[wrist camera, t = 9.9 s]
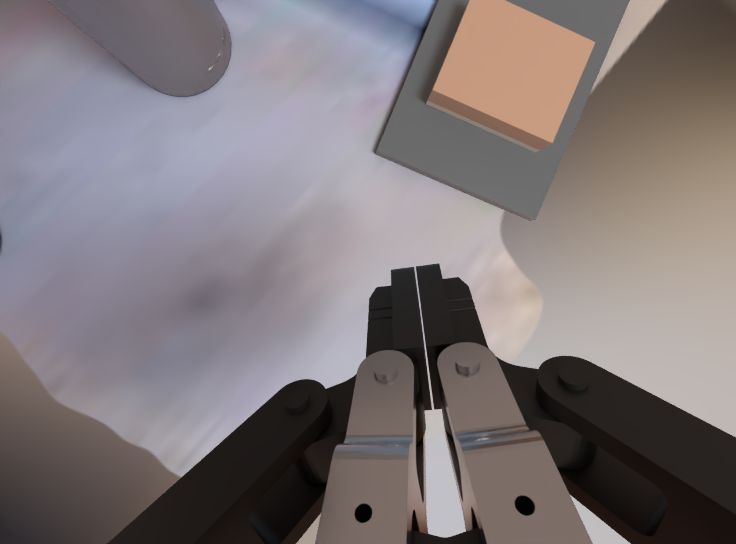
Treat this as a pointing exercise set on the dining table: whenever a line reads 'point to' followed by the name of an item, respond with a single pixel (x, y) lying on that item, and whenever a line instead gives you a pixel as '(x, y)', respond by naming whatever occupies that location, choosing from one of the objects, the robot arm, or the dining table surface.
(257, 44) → the dining table surface
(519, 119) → the tile
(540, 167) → the slate board
